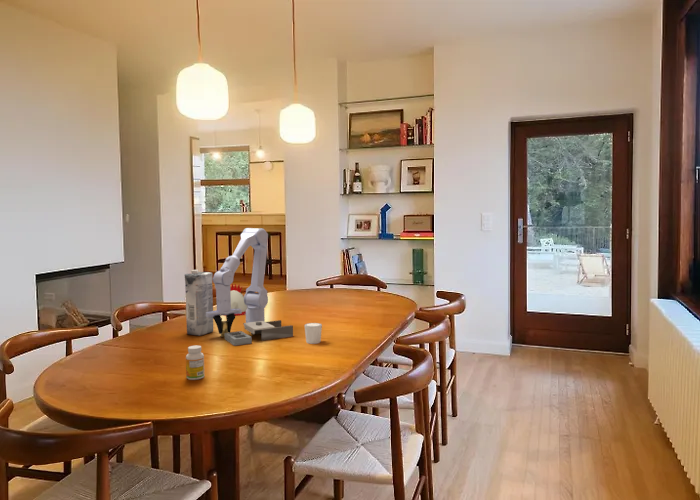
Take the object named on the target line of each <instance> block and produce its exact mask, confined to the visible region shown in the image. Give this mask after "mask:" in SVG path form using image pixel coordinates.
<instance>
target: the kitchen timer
mask: <svg viewBox="0 0 700 500" xmlns="http://www.w3.org/2000/svg"><path fill="white" fill-rule="evenodd" d="M242 289H243V286H241V287H240V284H238V285H237V284H236V283H234V284H233V283H231V286H230V294H231V309H239V308H240V309H242V314H234V315H235V317H239V316H246V310H247V305H246V304H245V303H244V296H245V295H243V293H242ZM222 316H224V317H226V315H222Z"/></svg>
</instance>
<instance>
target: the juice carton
mask: <svg viewBox="0 0 700 500" xmlns="http://www.w3.org/2000/svg"><path fill="white" fill-rule="evenodd" d="M190 270H191V269H190ZM190 272H191V273H184V283H185V286H184V287H185V288H184V289H185V311H186V312H185V313H186V314H185V317H186V334H187V335H192V336H203V335H206V334H207V335H208V334H209V333H212V332H214V319H213V317H208V318H207V317H206V312H210V311H214V304H213V303H214V302H213V301H214V299H213V298H214V297H213V279H212V278H213V277H214V274H213V272H211V271H210V272H209V271H199V269H192V270H191V271H190Z"/></svg>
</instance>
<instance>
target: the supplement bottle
mask: <svg viewBox="0 0 700 500" xmlns="http://www.w3.org/2000/svg"><path fill="white" fill-rule="evenodd" d="M187 352H188V353H187V354H186V355H185V368H186V369H185V371H186V373H185V374H186V379H188V380H190V381H196V380H201V379H204V378H205V354H204V353H203V352H202V345H199V344H198V345H190V346H188V347H187Z"/></svg>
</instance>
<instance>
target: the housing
mask: <svg viewBox="0 0 700 500" xmlns="http://www.w3.org/2000/svg"><path fill="white" fill-rule="evenodd" d="M265 322H266V323H269V324H271V325H273V326H275V328H270V329H263V330H255V334H253V333H251V332H250V335H258V334H260V337H261V338H260V339H261V340H260V341H262V342H263V341H270V340H276V339H283V338H291V337H294V325H291V324H290V325H283V326H282V319H280V320H279V319H278V320H271V321H265Z"/></svg>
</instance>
